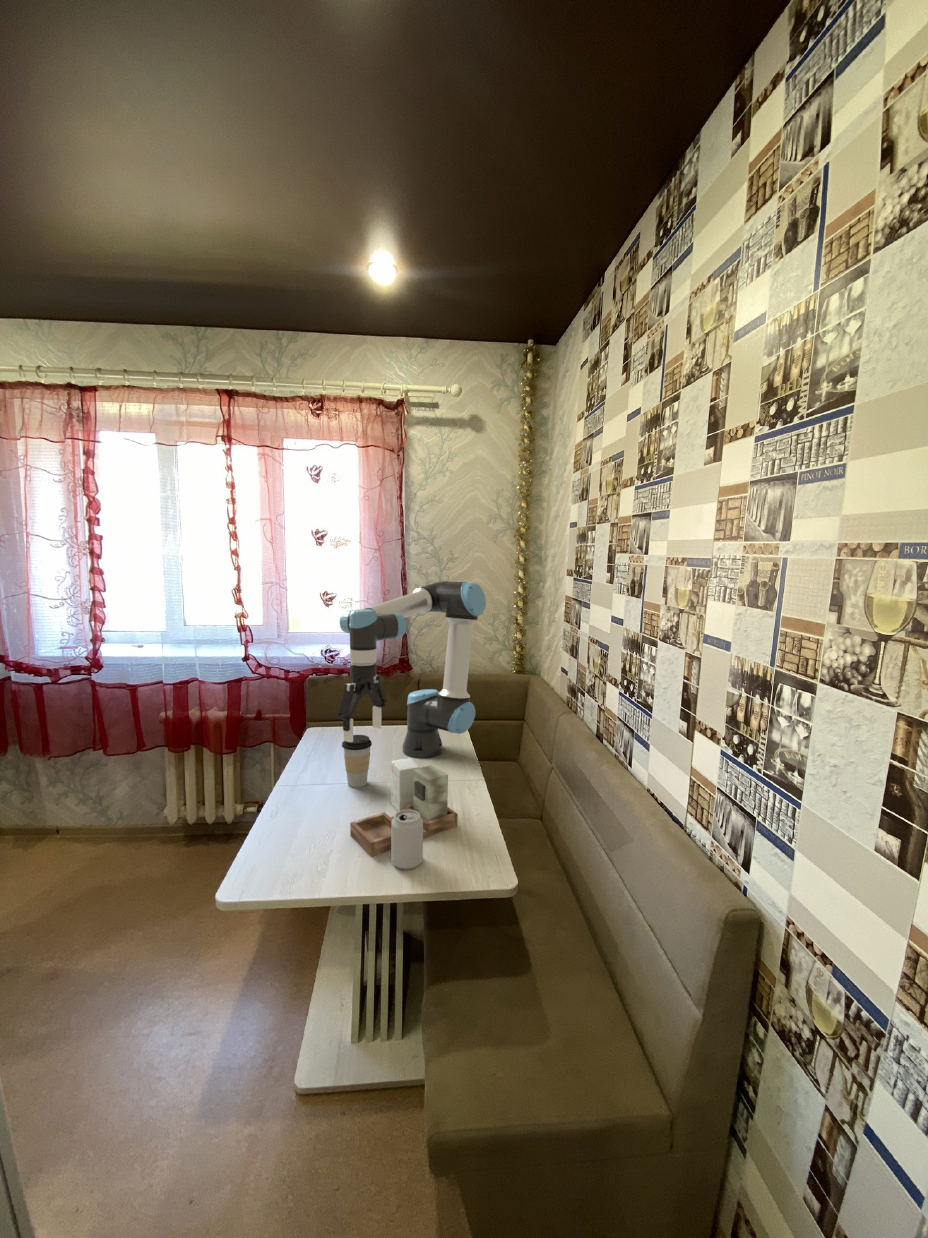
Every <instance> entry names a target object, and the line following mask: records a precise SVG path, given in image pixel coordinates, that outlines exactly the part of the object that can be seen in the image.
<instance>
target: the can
mask: <svg viewBox="0 0 928 1238" xmlns="http://www.w3.org/2000/svg"><path fill="white" fill-rule="evenodd" d="M423 850H424V838H423V820H422V818H421V817H420V813H418V812H417V811H415V810H402V811H399V812H398V811H397V812H396V813H395V814H394V819H393V820H392V822H391V850H390V854H391V857H390V858H391V859H390V860H391V863H392V864H393V865H394V866H395V867H397V868H398V869H400V870H412V869H415V868H417V867H418V866H419V865H420V864H422V862H423V857H424V854H423V853H424V851H423Z"/></svg>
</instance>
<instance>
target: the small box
mask: <svg viewBox="0 0 928 1238" xmlns="http://www.w3.org/2000/svg"><path fill="white" fill-rule="evenodd" d="M417 768H421V767H420V766H419V765H418V764H417V763H416V762H415V761H414V760H413V759H412V758H411V757H407V758H401V759H395V760H391V762H390V803H391V804H392V806H393V807H394V809H395V810H396V811H397V812H399V811H402V810H404V806H406V805H410V804H413V796H414V769H417Z"/></svg>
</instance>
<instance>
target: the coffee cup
mask: <svg viewBox="0 0 928 1238" xmlns="http://www.w3.org/2000/svg"><path fill="white" fill-rule="evenodd" d="M372 745H373V743H372V740H371V738H370V737H369V736H368V735H365V734H353V742H347V741H344V740H343V741H342V742H341V748H343V756H344V767H345V772H346V779H347V785H348V786H349V787H350V788H353V789H354V788H355V789H356V788H362V787H364V786H366V785H367V783H368V772H369V768H370V767H369V766H370V757H371V747H372Z"/></svg>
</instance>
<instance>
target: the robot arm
mask: <svg viewBox="0 0 928 1238" xmlns="http://www.w3.org/2000/svg"><path fill="white" fill-rule="evenodd" d="M486 605H487V598H486V594H485V592H484V590H483V587H482V586H481V585H479V584H477V583H475V582H469V581H447V580H444V581H437V582H433V583H430V584H427V585H423V586H421V587H418V588H415V589H414V590H413V591H412V592H411V593H407V594H404V595H403V596H399V597H395V598H393V599H390V600H387V601H384V602H381V603H378V604H375V605H372V606H368V607H365V608H363V609H362V608H361V609H350V610H349V609H348V610H346V611H344V612H342V614H341V616H340V618H339V626H340V629H341V631H342V632H343V633H345V634H349V650H350V651H349V662H350V664H349V676H350V677H351V678H352V682H351V683H347V682H346V683H345V684H344V691H343V694H342V695H343V696H342V698H341V703H340V705H339V709H338V712H337V715H336V716H337V717H336V718H337V719H340V720H342V731H343V741H347V742H353V735H354V718H352V717H353V715H354V713H355V710H356V709H357V706H358V704H359V701H360V700H361V699H362V698H363V696H365V695H368V697H369V699H370V701H371V702H372V704H373V705H374V706H372V728H373V729H374V728H375V729H378V730H380V729H382V715H383V713H382V712H383V711H382V710H383V708H385V706H386V704H387V697H386V694H385V691H384V689H383V686H382V682H381V675H377V663H376V662H377V659H378V658H377V656H378V655H377V642H378V641H383V640H384V641H385V640H391V639H395V640H396V639H397V638H401V637H403V636H404V635H405V634H406V632H407V628H408V627H407V626H408V625H407V624H408V623H407V620H406V619H407V618H409V617H412V616H414V615H418V614H423V615H426V614H428V613H444V614H445V619H446V621H447V622H448V632H447V643H446V651H445V652H446V653H445V661H444V662H445V663H444V673H443V675H444V676H443V684H442V689H441V690H440V691H439V690H437V689H432V688H431V689H420V690H414V691H412V692H410V693H408V696H407V703H406V707H407V708H406V710H407V711H406V712H407V714H406V716H407V719H406V720H407V721H406V724H407V725H406V726H407V729H406V730H407V731H406V734H405V737H404V741H403V743H402V753H403V754H405V755H406V756H408V757H410V758H411V757H413V758H419V759H420V758H424V759H425V758H430V757H431V758H432V757H436V756H439V755H440V754H441V753H442V752H443V742H442V740H441V735H440V733H439V730H442V731H444V732H449V733H451V734H453V733H454V734H459V735H462V734H465V732H467V731H468V730H469V729H470V728H471V727H472V725H473V723H474V720H475V717H476V708H475V705H474V704H473V703H472V702H471V695H470V694H469V693H468V691H467V690H468V689H467V688H468V679H469V678H468V677H469V666H470V659H471V657H470V656H471V646H472V636H473V627H474V624H476V623H477V622H478V620H479V619H478V617H480V616H482V615H483V613H484V611H485V610H486Z"/></svg>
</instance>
